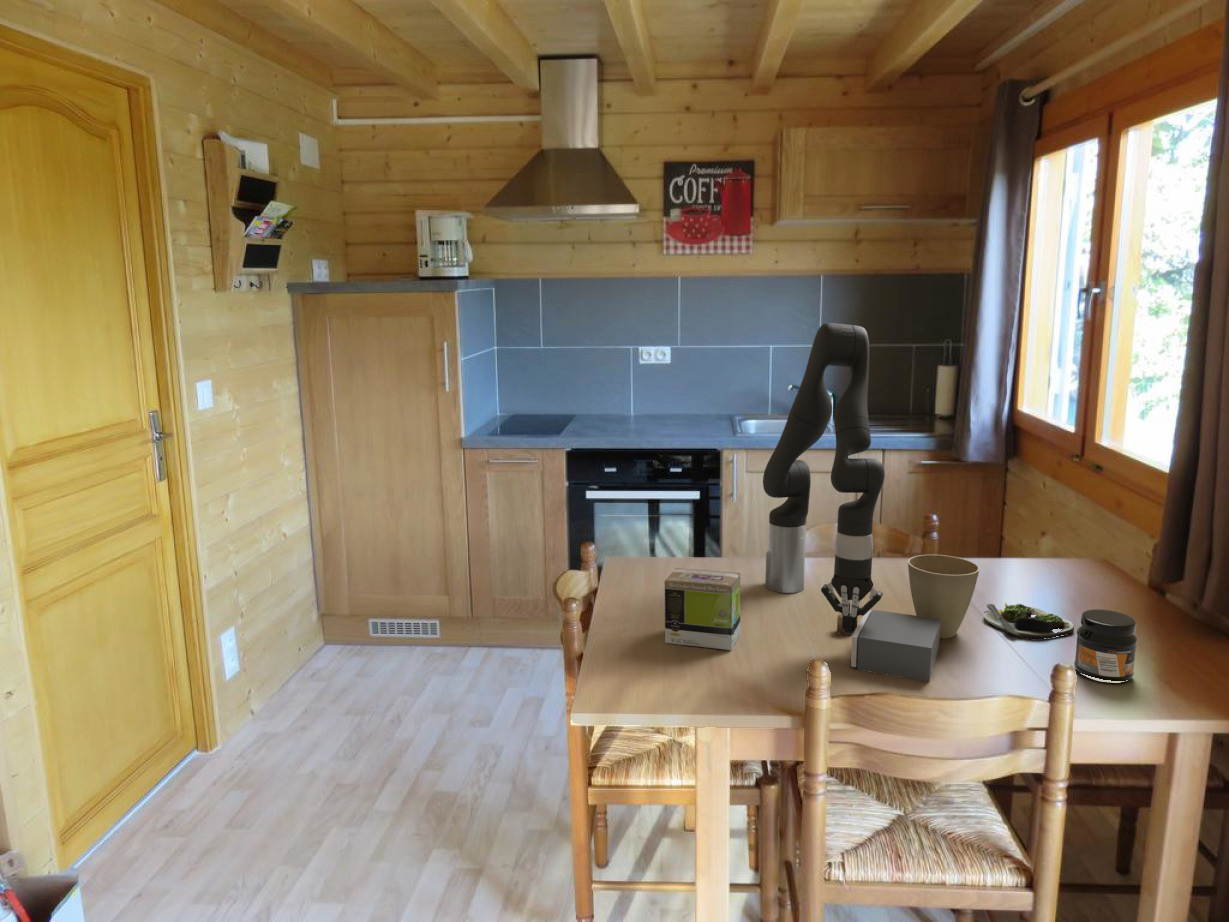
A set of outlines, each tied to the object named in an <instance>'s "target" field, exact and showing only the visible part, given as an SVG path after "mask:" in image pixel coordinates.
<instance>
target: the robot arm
mask: <svg viewBox="0 0 1229 922" xmlns="http://www.w3.org/2000/svg"><path fill="white" fill-rule="evenodd" d="M868 335H869V334H868V332H867V330H866V329H865V328H864V327H863V326H859V325H855V324H854V325H853V324H844V323H837V322H825V323H822V324H821V325H820V327H819V328H818V329H817V331H816V334H815V337H814V340H813V343H812V346H811V350H810V353H809V357H808V360H807V364H806V367H805V372H804V375H803V377H802V380H801V383H800V386H799V388H798V391H797V393H796V395H795V398H794V401H793V403H792V405H791V408H790V411H789V413H788V416H787V419H786V422H785V425H784V428H783V430H782V433H781V435H780V437H779V440H778V443H777V445H776V446H775V448H774V450H773V452H772V453H771V455H770V458H769V459H768V461H767V463H766V466H765V469H764V472H763V477H762V484H763V485H762V486H763V490H764V492H765V494H766V495H767V496H769V497H770V498H775V499H776V498H777V499H782V498H784V499H785V498H787V499H786V500H785V501H784V502H783V503H782V504H781V505H779V506H777V507H775V508H773V509H772V510H770V512H769V515H768V517H769V518H768V520H769V521H768V550H767V552H766V553H765V575H764V576H765V584H764V588H765V589H768V590H771V591H773V592H776V593H784V594H792V593H799V592H801V591H804V589H805V569H806V568H805V565H806V535H807V534H806V530H807V517H808V514H809V508H810V494H811V486H812V485H811V482H812V481H811V480H812V479H811V477H812V476H811V470H810V467H809V465H808V463H807V462H806V461H804V460H803V459H798V458H799V457H800V456H801V455H803V454H804V453H805V452H806V451H807V450H809V448H810V449H811V447H812V446H814V444H816V443H817V442H818V441H819V440H820V439H821V438H822V437H823V435H824V433H825V431H826V429H827V427H828V425H829V422H830V420H831V417H832V414H833V404H832V399H831V396H830V393H829V391H828V390H827V389H828V388H827V387H826V383H825V379H824V374H825V372H826V369H827V367H829V366H835V367H842V368H843V367H844V368H849V369H850V381H849V383H848V385H847V387H846V389H845V391H844V392H843V394H842V396H841V397H840V398H839V401H838V402H837V404H836V406H835V410H834V414H833V415H834V416H833V420H834V421H833V424H834V433H835V434H834V435H835V454H834V460H833V463H832V468H831V473H830V483H831V486H832V487H833V489H835V490H836V491H837V492H839V493H844V494H848V493H851V494H852V493H853V494H861V493H862V494H861V496H860V497H858V498H857V499H856V500H852V501H848V502H845V503H842V504H840V505H839V507H838V512H837V527H836V528H837V529H836V536H835V537H836V538H835V543H834V563H833V565H834V566H833V567H834V569H833V577H831V580H830V582H829V583H827V584H826V583H825V584H823V586H822V587H821V588H820V589H821V590H820V592H821V593H822V594H823V596H824V597H825V599H826V601H827V602H828V604H830V606H831V608H832V609H833V610H834V611H835V612H836V613H839V614H842V615H843V624H842V627H843V629H844V630H845V632H846V633H853V631H855V630H856V629H857V627H858V621H859V620H858V617H859V616H861V617H863V616H864V615H865V614H866V613H867V612H868V611H869V610H872V608H873V607H874V606H875V605H876V604H877V603H879V602H880V600H881V599H882V597H883V596H884V595H883V592H882V591H881V590H880V591H878V590H877V589H876V588H875V587H874V582H873V580H872V570H873V569H872V566H873V553H874V546H873V545H874V542H873V541H874V539H873V524H874V512H875V509H876V505H877V502H878V499H879V495H880V493H881V490H882V487H883V484H884V481H885V476H886V474H885V473H886V472H885V467H884V465H883V464H882V462H880V460H878V459H876V458H849V456H851V455H856V454H861V453H863V452H865V451H867V450H868V449H869V448H870V447H871V444H872V437H871V428H870V421H869V413H868V412H869V411H868V410H869V409H868V393H869V392H868V391H869V373H870V372H869V371H870V370H869V368H870V366H869V365H870V340H869V336H868ZM835 592H836V593H837V595H838V596H839V597H840V598H841V601H840V600H839V598H838V597H837V595H836V594H835ZM869 593H870V594H869ZM868 594H869V600H868V601H867V602H866V603H865V604H864V605H863V606H862V607H860V604H861V601H862V600H863V599H864V598H865V597H866V596H867V595H868Z"/></svg>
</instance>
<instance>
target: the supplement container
mask: <svg viewBox="0 0 1229 922" xmlns="http://www.w3.org/2000/svg"><path fill="white" fill-rule="evenodd" d="M1080 623H1081V625H1079V627H1078V628H1077V630H1076V635H1077V637H1076V645H1075V646H1076V647H1075V655H1074V656H1075V657H1074V663H1073V664H1074V665H1073V666H1074V669H1075V668H1076V669H1075V671H1076V670H1077V671H1079V672H1080V673H1082V674H1085V675H1088V676H1091V677H1095V678H1099V679H1103V680H1111V681H1126V680H1129V679H1131V678H1132V679H1133V677H1134V675H1135V673H1134V672H1135V671H1134V670H1135V669H1134V668H1135V659H1136V651H1137V650H1136V649H1137V644H1138V636H1137V634H1136V630H1137V621H1136V619H1134V618H1133V617H1132V616H1130V615H1128V614H1125V613H1123V612H1119V611H1115V610H1109V609H1099V608H1096V609H1087V610H1085V611H1083V612H1082V613H1081V617H1080ZM1077 671H1076V672H1077ZM1132 679H1131V680H1132ZM1129 681H1130V680H1129Z"/></svg>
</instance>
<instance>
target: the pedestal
mask: <svg viewBox="0 0 1229 922" xmlns="http://www.w3.org/2000/svg"><path fill="white" fill-rule="evenodd" d="M836 622H837V623H836V632H837V634H840V635H843V636H853V634H854V632H855V631H853V633H846V632H845V630H844V629H843V627H842V624H843V615H842V613H839V614H838V615H837V619H836Z"/></svg>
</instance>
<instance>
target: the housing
mask: <svg viewBox="0 0 1229 922" xmlns="http://www.w3.org/2000/svg"><path fill="white" fill-rule="evenodd" d="M871 610H872V612H871V614H870V616H869V618H868V620H867V622H866V624H865V626H864V628H863V630H862V631H861V633H860V635H859V638H858V660H857V666H856V670H857V669H858V670H859V671H862V670H863V671H862V672H868V671H870V672H869V673H874V672H876V674H880V673H882V674H881V675H886V674H888V676H892V675H894V677H899V678H904V677H905V679H911V680H918V681H922V680H924V682H928V681H929V682H931V681H930V680H931V679H932V675H933V671H934V668H935V664H936V660H937V657H938V654H939V651H940V639H941V638H940V622H941V619H937V618H929V617H922V616H916V614H915V615H913V614H907V613H901V612H900V613H899V612H892V611H891V612H890V611H885V610H879V609H871ZM858 670H857V671H858Z"/></svg>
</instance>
